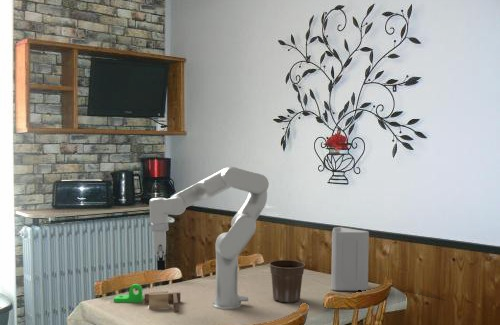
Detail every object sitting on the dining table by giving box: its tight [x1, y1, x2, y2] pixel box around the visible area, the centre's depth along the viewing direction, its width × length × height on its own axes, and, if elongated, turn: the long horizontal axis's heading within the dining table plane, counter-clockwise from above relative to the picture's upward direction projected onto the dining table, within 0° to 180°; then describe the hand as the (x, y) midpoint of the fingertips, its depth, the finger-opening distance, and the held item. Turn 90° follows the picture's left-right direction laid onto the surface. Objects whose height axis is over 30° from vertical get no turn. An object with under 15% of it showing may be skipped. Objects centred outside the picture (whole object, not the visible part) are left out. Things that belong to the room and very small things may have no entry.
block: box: [148, 290, 169, 310], centre depth 231 cm, size 5×8×6 cm, turn 99°
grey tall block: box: [330, 226, 370, 291], centre depth 267 cm, size 19×15×28 cm
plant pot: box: [268, 259, 306, 304], centre depth 245 cm, size 16×16×16 cm
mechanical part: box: [113, 283, 144, 303], centre depth 240 cm, size 12×6×8 cm, turn 93°
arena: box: [143, 291, 181, 313], centre depth 231 cm, size 16×16×4 cm
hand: (161, 267), depth 230 cm, fingers open, 9 cm apart
